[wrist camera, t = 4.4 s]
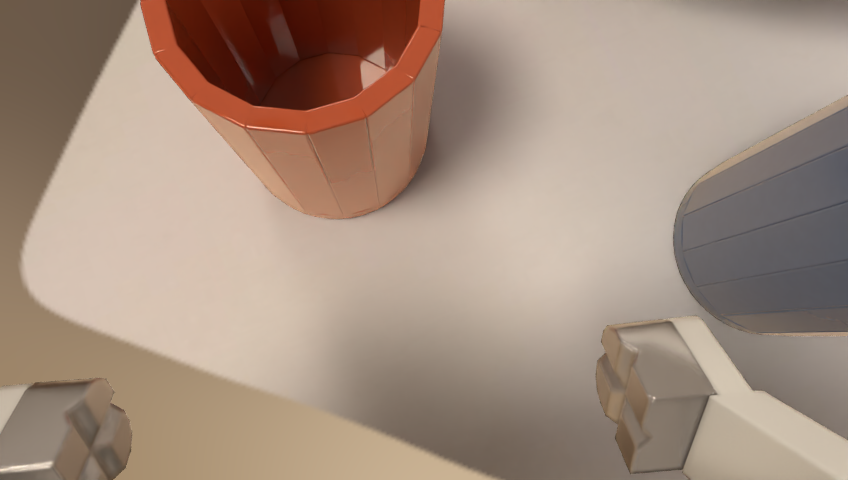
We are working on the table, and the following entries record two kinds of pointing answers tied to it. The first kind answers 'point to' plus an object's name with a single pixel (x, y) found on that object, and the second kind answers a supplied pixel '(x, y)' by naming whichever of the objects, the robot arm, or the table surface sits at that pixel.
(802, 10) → the table surface
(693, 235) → the blue cup
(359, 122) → the rust cup
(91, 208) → the table surface
